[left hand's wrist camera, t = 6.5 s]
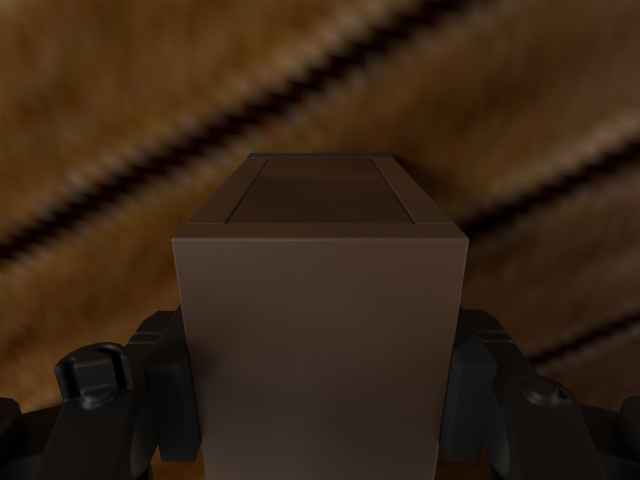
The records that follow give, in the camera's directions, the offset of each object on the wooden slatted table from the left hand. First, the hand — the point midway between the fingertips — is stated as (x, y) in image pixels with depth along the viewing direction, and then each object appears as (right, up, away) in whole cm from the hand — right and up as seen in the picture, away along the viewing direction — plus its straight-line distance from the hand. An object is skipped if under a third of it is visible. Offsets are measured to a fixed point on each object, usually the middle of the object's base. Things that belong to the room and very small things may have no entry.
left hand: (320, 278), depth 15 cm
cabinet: (0, -5, +6) cm, 8 cm away
